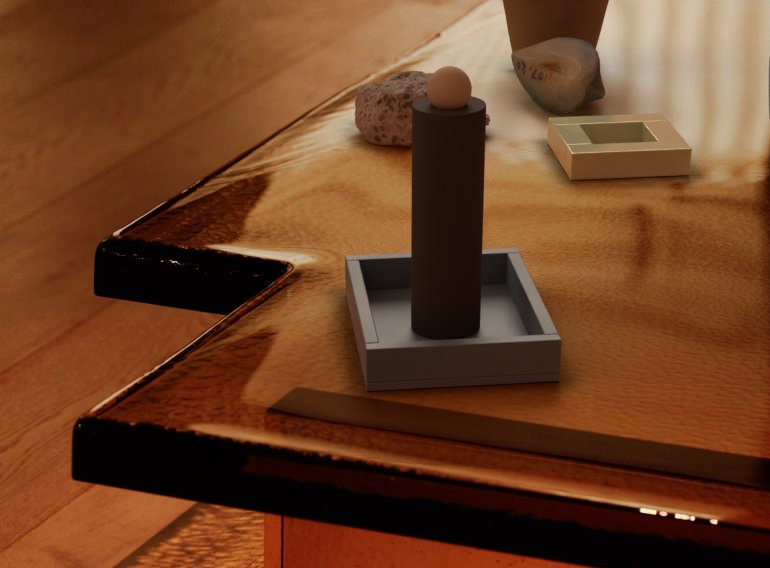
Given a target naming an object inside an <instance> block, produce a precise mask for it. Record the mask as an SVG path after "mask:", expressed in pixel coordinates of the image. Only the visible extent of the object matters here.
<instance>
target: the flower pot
mask: <svg viewBox="0 0 770 568" xmlns="http://www.w3.org/2000/svg"><path fill="white" fill-rule="evenodd" d="M609 2H610V0H502V4H503V9H504V15H505V22H506V27H507V33H508V38H509V43H510V48H511V53H512V52H514V51H517V50H520V49H523V48H526V47H529V46H532V45H535V44H538V43H541V42H543V41H546V40H549V39H553V38H559V37H570V38H577V39H581V40H583V41H586V42H588V43H590V44H591V45H592V46H593V47H594V48H595V49H596V50H597V46H598V42H599V40H600V35H601V31H602V28H603V25H604V21H605V16H606V14H607V13H606V12H607V9H608V7H609Z"/></svg>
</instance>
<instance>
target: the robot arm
mask: <svg viewBox="0 0 770 568" xmlns="http://www.w3.org/2000/svg"><path fill="white" fill-rule="evenodd" d="M768 58H769V60H768V115H769V117H768V118H770V57H768Z"/></svg>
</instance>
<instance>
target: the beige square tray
mask: <svg viewBox="0 0 770 568" xmlns="http://www.w3.org/2000/svg"><path fill="white" fill-rule="evenodd" d="M547 119H548V120H547V140H546V141H547V144H548V146H549V148H550V149H551V151H552V152H553V155H554V156H555V157H556V159H557V161H558V162H559V164H560V165H561V167H562V169H563V170H564V172H565V173H566V175H567V177H568V178H569V180H571V181H581V180H582V181H583V180H602V179H603V180H604V179H605V180H607V179H627V178H628V179H629V178H651V177H652V178H653V177H654V178H655V177H673V176H674V177H675V176H690V173H691V164H692V163H691V162H692V151H693V149H692V147H691V146H690V145H689V144H688V143H687V142H686V140H685V139H684V138H683V136H682V135H681V134H680V133H679V132H678V131H677V130H676V128H675V127H674V126H673V125H672V124H671V123H670V121H669V120H668V119H667V118H666V117H665V115H663V114H662V113H661V112H656V113H655V112H653V113H630V114H605V115H604V114H603V115H580V116H556V117H555V116H554V117H548V118H547Z"/></svg>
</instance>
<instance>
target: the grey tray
mask: <svg viewBox="0 0 770 568" xmlns="http://www.w3.org/2000/svg"><path fill="white" fill-rule="evenodd" d="M344 280H345V281H344V283H345V284H344V286H345V289H344V290H345V296H346V301H347V306H348V312H349V316H350V320H351V325H352V330H353V334H354V339H355V344H356V348H357V352H358V357H359V362H360V367H361V371H362V376H363V381H364V385H365V390H366V391H367V392H377V391H397V390H416V389H431V388H432V389H435V388H437V389H438V388H453V387H454V388H456V387H473V386H474V387H475V386H491V385H492V386H494V385H512V384H530V383H531V384H533V383H549V382H551V383H552V382H559V381H560V377H561V360H562V343H563V339H562V337H561V335H560V334H559V331H558V329H557V326H556V325H555V323H554V321H553V319H552V318H551V315H550V313H549V311H548V308H547V307H546V305H545V302H544V300H543V298H542V296H541V294H540V292H539V290H538V287H537V286H536V283H535V282H534V280H533V277H532V275H531V273H530V271H529V269H528V267H527V265H526V263H525V261H524V259H523V257H522V255H521V253H520V250H519V248H518V247H504V248H482V278H481V314H480V329H479V330H478V332H476V333H475V334H474V335H472V336H469V337H467V338H463V339H450V340H435V339H429V338H426V337H423V336H420V335H418V334H417V333H415V332H414V331H413V330H412V328H411V252H396V253H394V252H393V253H377V254H376V253H375V254H373V253H371V254H351V255H349V254H348V255H344Z"/></svg>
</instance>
